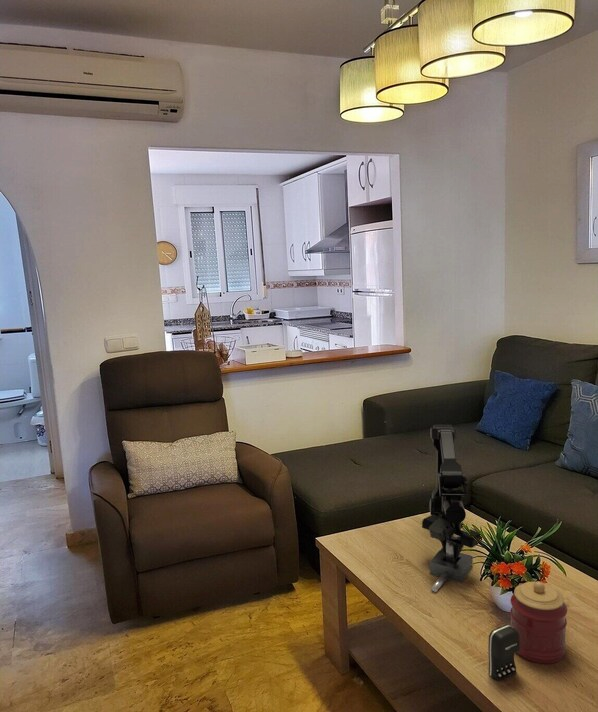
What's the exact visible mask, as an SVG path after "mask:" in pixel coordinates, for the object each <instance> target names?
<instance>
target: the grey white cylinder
mask: <svg viewBox="0 0 598 712" xmlns="http://www.w3.org/2000/svg"><path fill="white" fill-rule="evenodd" d="M455 539H456V535H453V536H452V537H451V538H450V539H448V538H446V562H450V563H453V564H456V563H457V558H456V559H455V557H454V543H453V542H452V541H453V540H455Z"/></svg>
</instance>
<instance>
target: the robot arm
mask: <svg viewBox="0 0 598 712" xmlns="http://www.w3.org/2000/svg"><path fill="white" fill-rule="evenodd" d="M429 431H430V432H429V434H430V439H431V440H432V444H433V447H434V448H435V450H436V486H435V487H434V488H433V490H432V492H431V498H430V499H429V513H430V515H429V516H427V517H425V518H424V519H422V521H421V527H422V528H423V529H425V530H427V531H429V533H430V537H431V538H433V539H436V540H438V541H439V542H440V543H441V548H443V550H444V552H445V554H446V538H448V539H450V538H451V537H452V536H455V537H456V539H455V540H453V541H452V542H453V543H454V557H455V559H456V558H458V556H459V554H460V553H462V550H463V548H464V546H465V547H468V548H469V549H470V548H474V547H476V546H478V545H479V544H478V543H477V541H476V540H475V539H474V538H473V537H472V536H471V535H469V534H468V533H467V532H466V531H467V530H465V529H463V528H464V527H463V526H462V525H464V523H463V522H464V520H465V519H466V516H467V514H466V509H465V507H464V503H463V501H462V498H464V497H466V498H467V493H468V491H469V488H468V479H467V476H466V474H465V472H463V469H462V465H461V464H460V463H459V462H458V461H457V457H456V456H457V455H456V449H455V440H457V439H458V429H457V427H456V428H455V427H453V424H434V425H433V426H432V427H430V430H429ZM462 529H463V530H462ZM469 530H470V531H471V533H472V534H473V535H474V536H476V537H477V538H479V539H481V540H482V537H481V536H480V534H479V533H480V532H479V531H477V530H474V529H472V528H471V529H469ZM478 532H479V533H478Z"/></svg>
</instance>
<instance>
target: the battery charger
mask: <svg viewBox="0 0 598 712" xmlns="http://www.w3.org/2000/svg"><path fill="white" fill-rule="evenodd" d="M519 649H520V639H519V633H518V632H517V631H516V630H515V629H513V628H512V627H511V624H510V625H509V624H504V625H500V626H499V627H496V628H495V629H493V630H491V631H490V633H489V635H488V675H489V676H490V677H491V678H493V679H495V680H497V681H502V680H504V679H506V678H509V677H511V676H513V675H515V674H516V673H517V666H516V662H515V661H516V660H515V654H517V652H518V651H519Z"/></svg>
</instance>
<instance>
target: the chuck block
mask: <svg viewBox="0 0 598 712" xmlns="http://www.w3.org/2000/svg"><path fill="white" fill-rule="evenodd" d="M473 558H474V557H473V555H470V554H466V553H462V552H460V554H459V556H458V558H457V563H456V564H453V563H450V562H446V554H445V552H444V550H443V547H441V549H440V550H438V552H437V553H436V554H435V555H434V556H433V558H431V560H430V561H429V574H430V575H433V576H437V577H439V578H438V579H437V580H436V581H435V583H433V585H432V586H431V587H430V591H431V592H432V593H435V594H436V593H437V592H438V590H439V589H440V588H441V587H442V586H443V584H444V583H445V581H447V580H450V581H453V582H457V583H460V584H461V583H462V582H463V581H464V580H465V579H466V578H467V576H468V575H469V573H470V572H471V571H472V570H473V568H474V567H473V566H474V565H471V564H472V563H473ZM473 564H474V563H473Z"/></svg>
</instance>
